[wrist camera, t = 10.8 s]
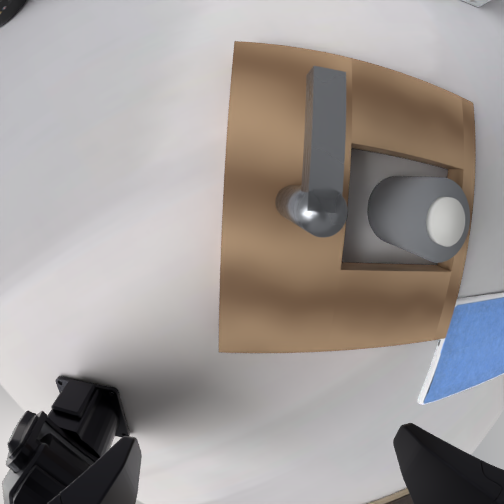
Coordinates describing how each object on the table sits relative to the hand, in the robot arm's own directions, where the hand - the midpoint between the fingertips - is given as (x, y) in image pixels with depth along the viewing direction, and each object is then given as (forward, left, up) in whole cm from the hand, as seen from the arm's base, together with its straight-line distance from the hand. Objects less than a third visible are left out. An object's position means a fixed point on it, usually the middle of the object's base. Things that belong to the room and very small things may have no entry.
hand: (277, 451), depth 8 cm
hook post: (+10, -2, -11) cm, 15 cm away
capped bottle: (+7, -10, -13) cm, 18 cm away
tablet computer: (-6, -28, -14) cm, 32 cm away
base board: (+7, -7, -13) cm, 17 cm away
